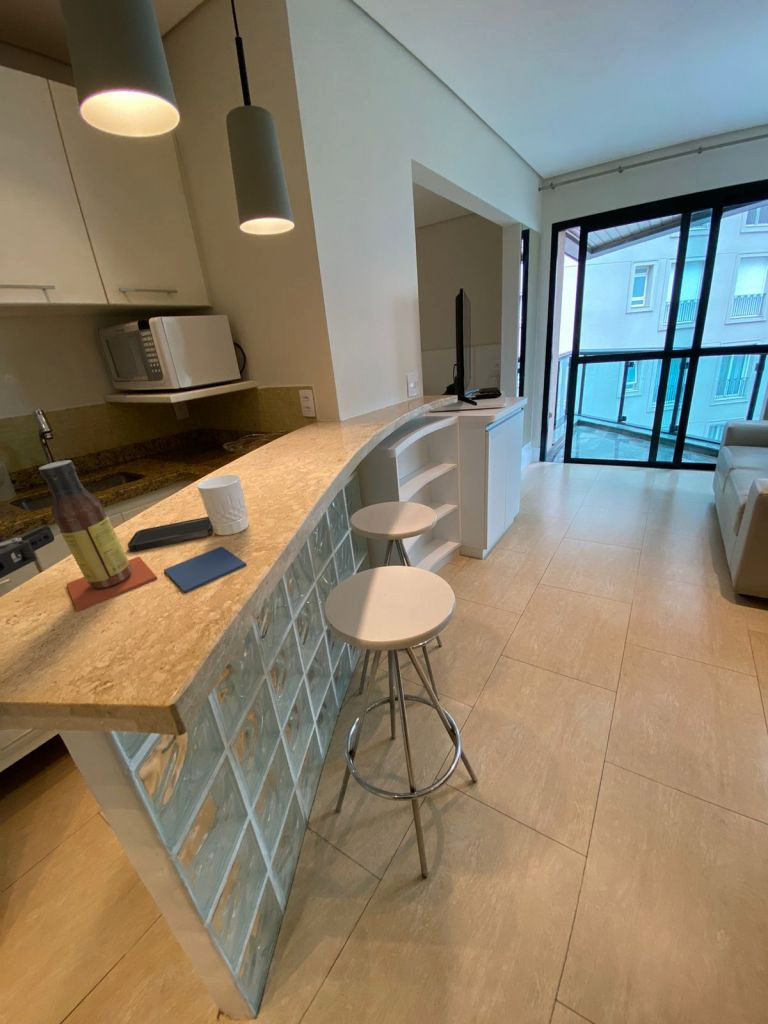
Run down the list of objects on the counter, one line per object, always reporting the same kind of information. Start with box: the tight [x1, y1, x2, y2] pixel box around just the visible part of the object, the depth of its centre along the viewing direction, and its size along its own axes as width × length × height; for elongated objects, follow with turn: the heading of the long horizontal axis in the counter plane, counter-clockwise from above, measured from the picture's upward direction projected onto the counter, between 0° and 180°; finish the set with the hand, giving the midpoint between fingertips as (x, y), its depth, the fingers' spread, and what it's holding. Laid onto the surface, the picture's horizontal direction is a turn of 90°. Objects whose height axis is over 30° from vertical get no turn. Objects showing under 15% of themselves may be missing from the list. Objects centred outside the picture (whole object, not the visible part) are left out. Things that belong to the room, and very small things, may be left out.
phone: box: [127, 516, 214, 552], centre depth 81 cm, size 8×1×15 cm
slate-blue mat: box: [163, 545, 247, 594], centre depth 67 cm, size 10×10×1 cm
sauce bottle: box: [38, 459, 132, 589], centre depth 62 cm, size 6×6×20 cm
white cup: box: [196, 474, 250, 536], centre depth 80 cm, size 8×8×10 cm
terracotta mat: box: [66, 556, 158, 613], centre depth 66 cm, size 11×11×1 cm
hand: (23, 533), depth 53 cm, fingers open, 8 cm apart
